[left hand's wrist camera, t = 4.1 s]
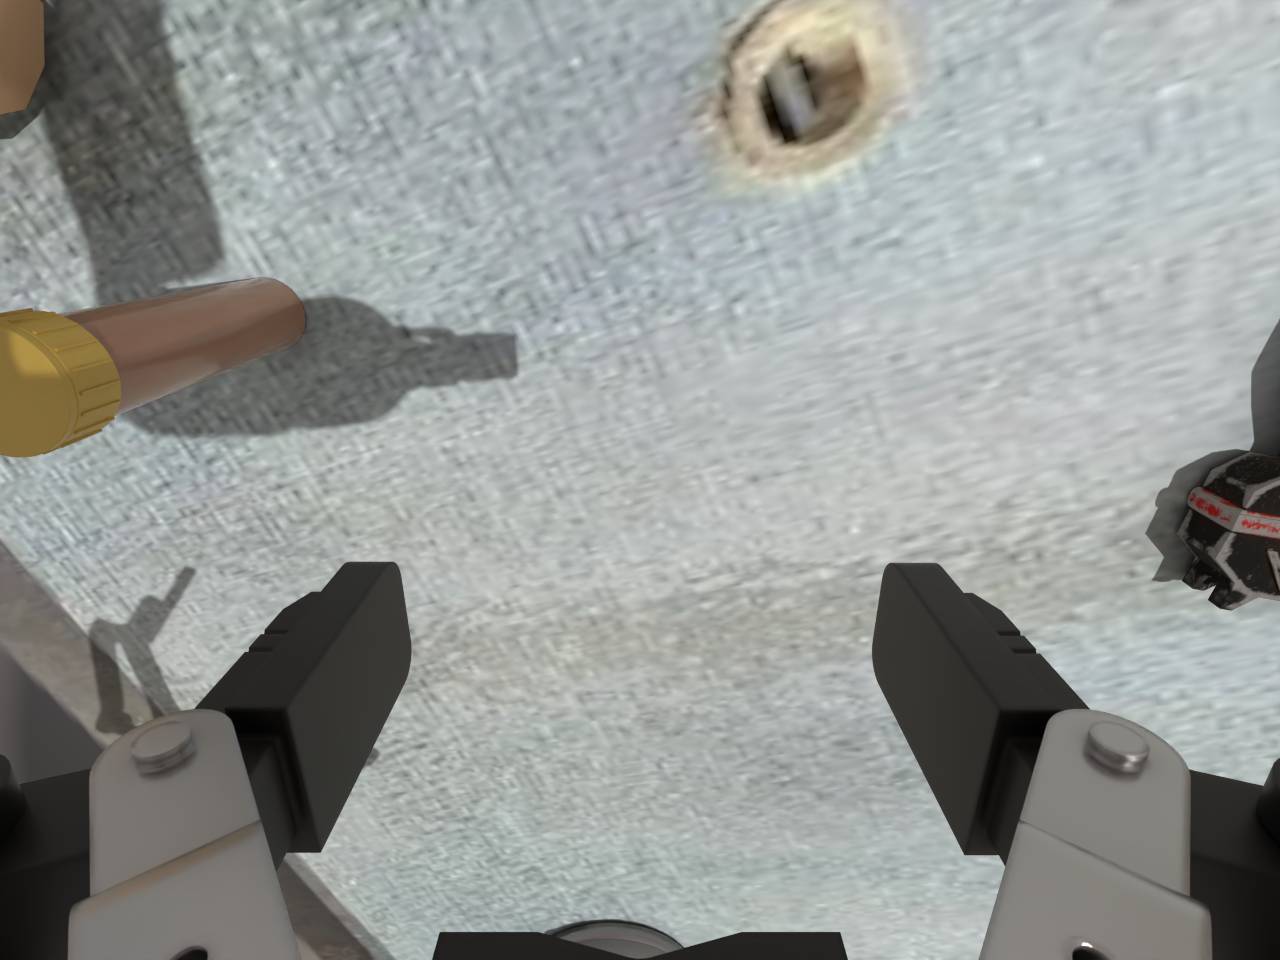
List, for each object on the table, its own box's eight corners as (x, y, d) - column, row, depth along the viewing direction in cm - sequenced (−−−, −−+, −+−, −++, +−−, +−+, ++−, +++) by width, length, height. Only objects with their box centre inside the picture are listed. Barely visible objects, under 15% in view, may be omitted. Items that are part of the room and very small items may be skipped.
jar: (246, 352, 39) (-24, 450, 23) (224, 280, 38) (-80, 332, 22) (314, 346, 39) (90, 441, 23) (295, 274, 37) (42, 322, 22)
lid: (20, 442, 25) (-41, 465, 23) (-37, 313, 23) (-109, 325, 21) (143, 432, 25) (93, 454, 23) (94, 302, 23) (36, 312, 21)
